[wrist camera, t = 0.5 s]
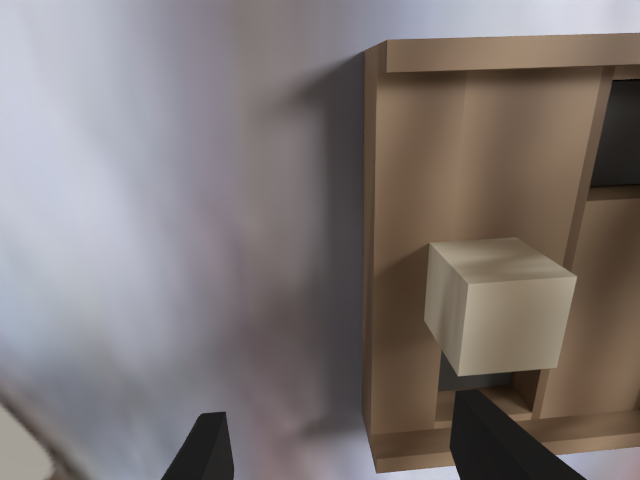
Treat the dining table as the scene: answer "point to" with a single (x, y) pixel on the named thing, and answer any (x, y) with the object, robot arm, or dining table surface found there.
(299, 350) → the dining table surface
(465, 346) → the birch block
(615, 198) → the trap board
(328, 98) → the dining table surface
